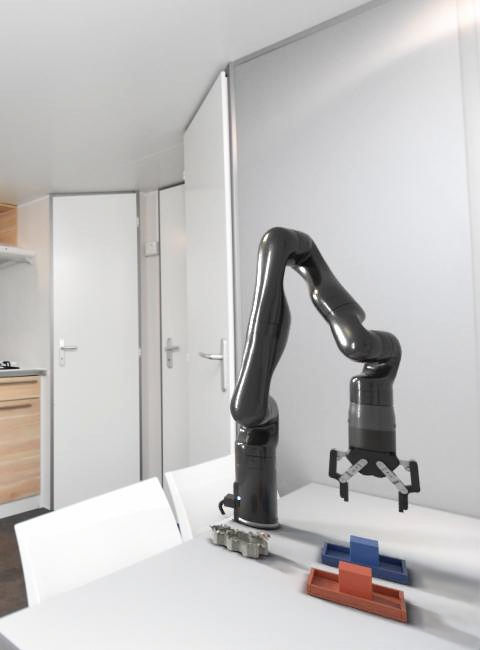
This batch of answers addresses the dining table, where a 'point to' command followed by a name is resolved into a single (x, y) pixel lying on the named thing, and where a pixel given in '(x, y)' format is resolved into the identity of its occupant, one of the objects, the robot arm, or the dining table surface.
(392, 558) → the blue tray
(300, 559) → the dining table surface
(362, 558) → the blue block
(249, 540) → the egg carton
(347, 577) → the terracotta block
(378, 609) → the terracotta tray
